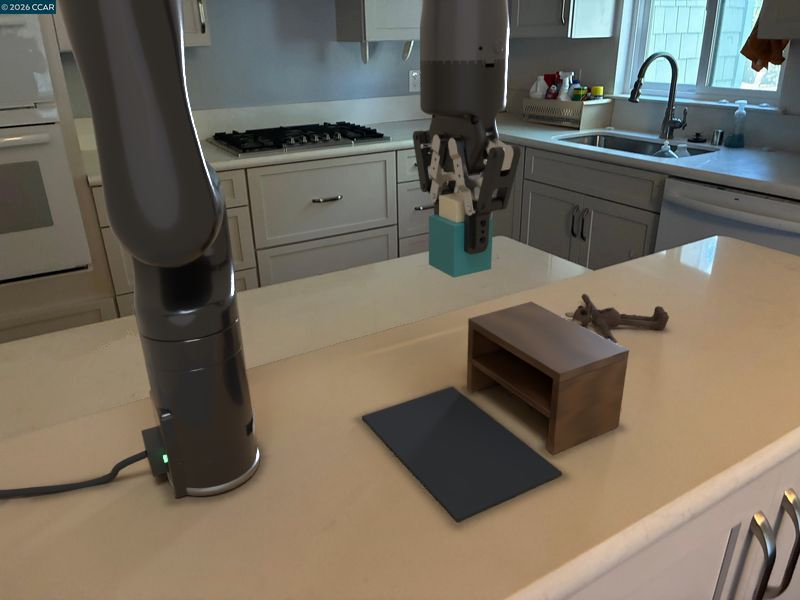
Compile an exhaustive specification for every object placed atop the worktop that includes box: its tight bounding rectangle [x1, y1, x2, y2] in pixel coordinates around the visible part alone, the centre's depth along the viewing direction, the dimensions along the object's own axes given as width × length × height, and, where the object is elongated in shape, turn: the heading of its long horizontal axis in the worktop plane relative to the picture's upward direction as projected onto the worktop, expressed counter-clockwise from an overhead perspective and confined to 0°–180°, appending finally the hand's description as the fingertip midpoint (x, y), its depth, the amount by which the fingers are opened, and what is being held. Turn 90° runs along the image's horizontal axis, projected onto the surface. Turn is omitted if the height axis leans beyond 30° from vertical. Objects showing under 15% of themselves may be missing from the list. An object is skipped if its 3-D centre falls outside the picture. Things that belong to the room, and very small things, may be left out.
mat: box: [361, 385, 563, 523], centre depth 68 cm, size 13×20×1 cm, turn 30°
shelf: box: [466, 301, 630, 456], centre depth 73 cm, size 10×16×10 cm, turn 30°
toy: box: [428, 191, 494, 279], centre depth 59 cm, size 4×4×7 cm
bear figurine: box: [564, 293, 670, 344], centre depth 94 cm, size 18×4×14 cm
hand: (460, 244), depth 59 cm, fingers closed on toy, 4 cm apart
